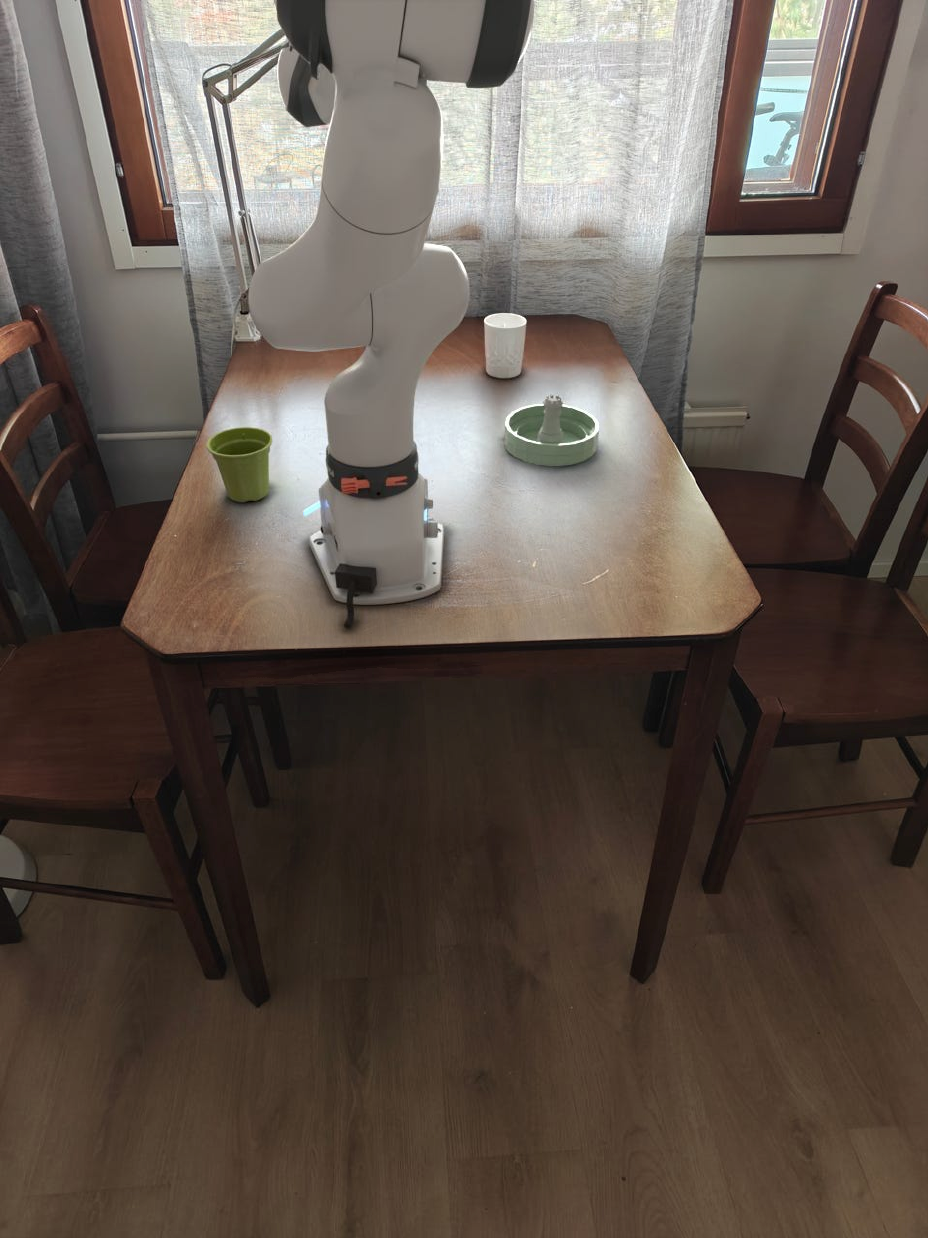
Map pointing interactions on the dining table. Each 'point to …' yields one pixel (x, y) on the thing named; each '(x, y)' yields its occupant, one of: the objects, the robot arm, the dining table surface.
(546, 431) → the rook chess piece
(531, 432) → the bowl
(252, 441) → the plant pot
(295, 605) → the dining table surface
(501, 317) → the white cup
